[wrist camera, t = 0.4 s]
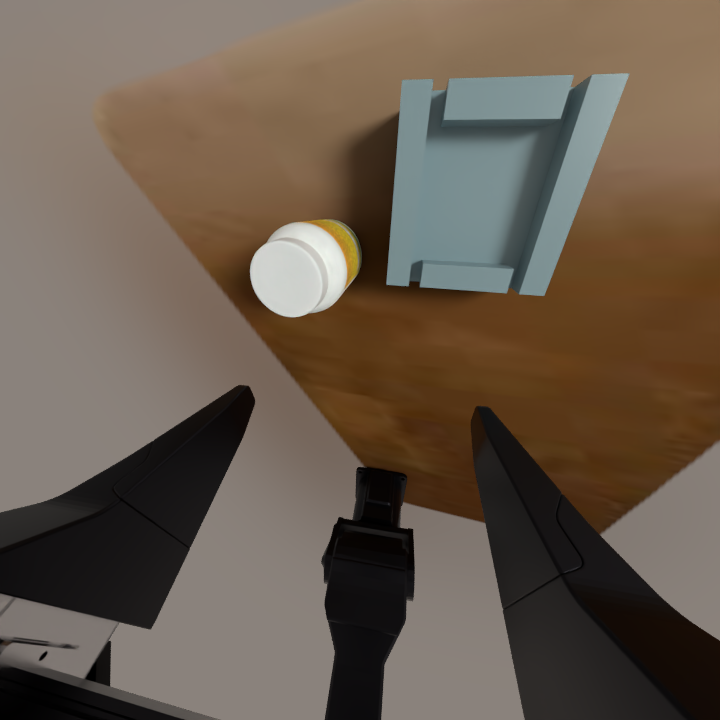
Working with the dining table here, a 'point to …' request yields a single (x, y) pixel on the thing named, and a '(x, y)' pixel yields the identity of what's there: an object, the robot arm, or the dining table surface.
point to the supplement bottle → (305, 266)
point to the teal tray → (493, 177)
